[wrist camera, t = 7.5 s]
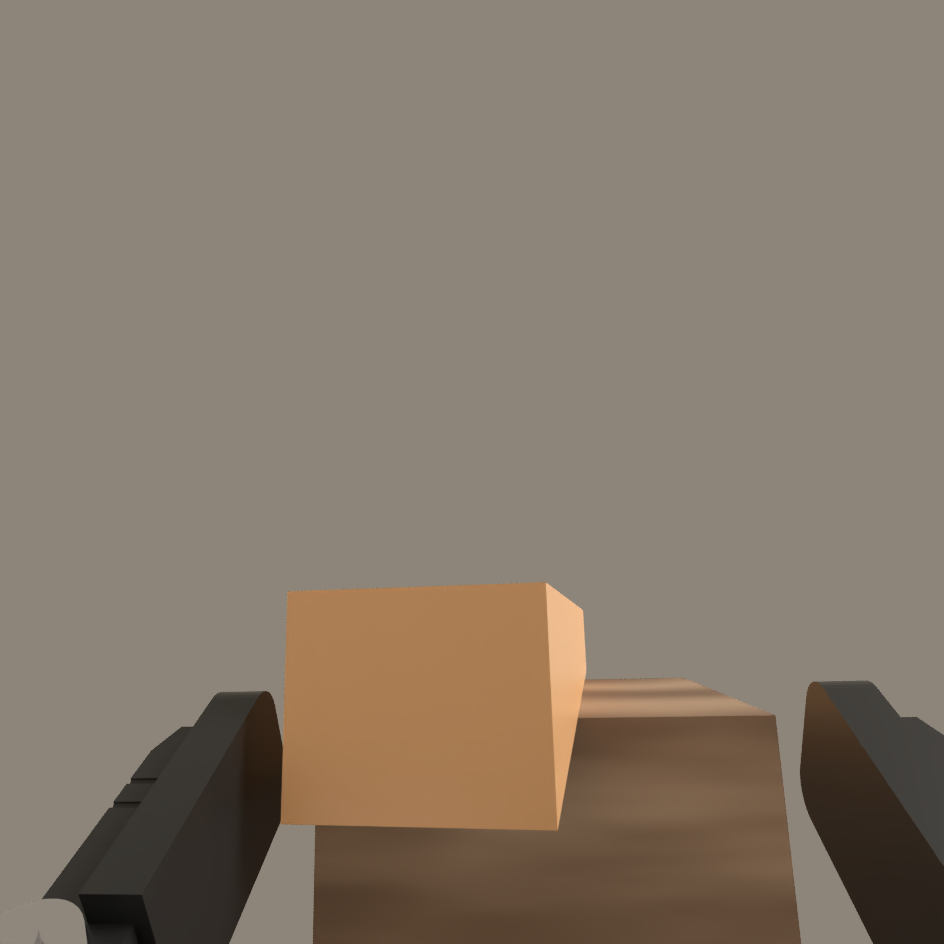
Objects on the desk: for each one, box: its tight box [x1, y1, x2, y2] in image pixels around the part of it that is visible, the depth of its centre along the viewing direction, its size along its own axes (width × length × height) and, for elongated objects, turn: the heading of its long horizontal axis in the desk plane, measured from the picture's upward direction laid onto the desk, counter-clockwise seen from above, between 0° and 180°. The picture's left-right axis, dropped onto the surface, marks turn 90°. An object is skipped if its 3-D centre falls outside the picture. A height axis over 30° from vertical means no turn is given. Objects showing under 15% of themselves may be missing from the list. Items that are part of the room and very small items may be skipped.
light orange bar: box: [281, 582, 586, 831], centre depth 23 cm, size 28×4×3 cm, turn 170°
